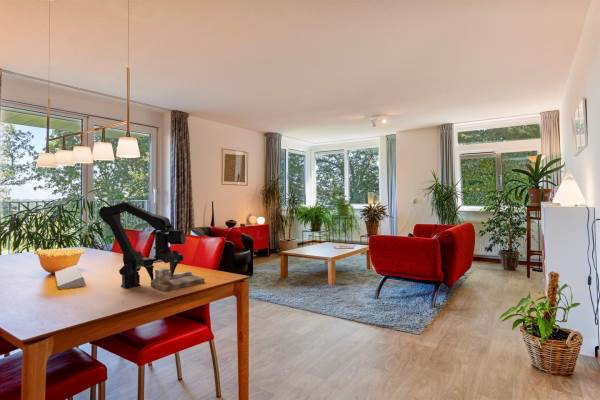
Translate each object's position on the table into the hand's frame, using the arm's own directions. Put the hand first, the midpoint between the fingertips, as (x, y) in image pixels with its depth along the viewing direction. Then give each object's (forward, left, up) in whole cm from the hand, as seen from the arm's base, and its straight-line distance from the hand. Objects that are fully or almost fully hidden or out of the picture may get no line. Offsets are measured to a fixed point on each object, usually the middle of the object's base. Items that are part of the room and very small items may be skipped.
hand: (162, 278), depth 154 cm
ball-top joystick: (0, -3, -2) cm, 3 cm away
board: (+7, -2, -4) cm, 8 cm away
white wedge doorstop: (-25, +47, -5) cm, 53 cm away
